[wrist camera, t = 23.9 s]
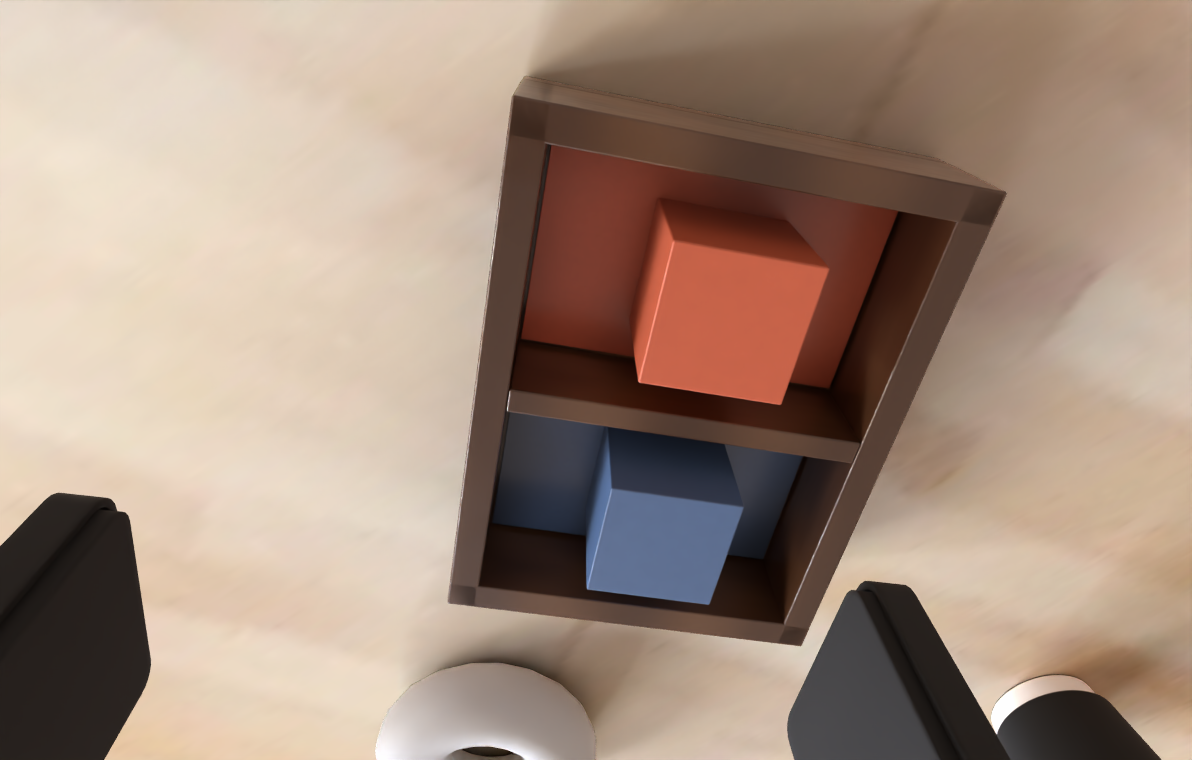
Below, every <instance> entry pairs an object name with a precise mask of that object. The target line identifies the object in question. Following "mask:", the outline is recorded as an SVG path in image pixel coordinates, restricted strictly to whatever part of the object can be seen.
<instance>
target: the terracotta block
mask: <svg viewBox="0 0 1192 760" xmlns="http://www.w3.org/2000/svg"><path fill="white" fill-rule="evenodd" d="M829 270H830V268H829V267H828V265H827V264H826V263H825V262H824V261H823V260H822V259H821V257H820V256H819V255H818V254H817V253H816V252H815V251H814V249H813V248H812V247H811V246H810V245H809V244H808V243H807V241H806V240H805V239H804V238H803V237H802V236H801V235H800V234H799V232H798V231H797V230H796V229H795V228H794V227H793V226H792V224H791V223H790V222H788V221H783V220H777V219H772V218H766V217H761V216H756V215H750V214H745V213H740V212H734V211H729V210H723V209H718V208H713V207H707V206H702V205H697V204H691V203H686V202H680V201H675V200H670V199H664V198H658V199H657V203H656V207H655V212H654V216H653V220H652V225H651V229H650V233H649V238H648V242H647V246H646V251H645V255H644V259H643V264H642V268H641V272H640V277H639V281H638V285H637V290H636V294H635V299H634V303H633V307H632V312H631V316H630V320H629V322H630V329H631V336H632V342H633V349H634V356H635V363H636V369H637V376H638V382H640V383H645V384H651V385H657V386H664V387H670V388H676V389H683V390H689V391H695V392H702V393H708V394H714V395H721V396H727V397H733V398H740V399H746V400H752V401H759V402H765V403H771V404H778V405H781V404H782V401H783V398H784V396H785V393H786V390H787V387H788V384H789V382H790V379H791V376H792V373H793V370H794V368H795V365H796V362H797V359H798V356H799V354H800V351H801V348H802V345H803V342H804V340H805V337H806V334H807V331H808V328H809V326H810V323H811V320H812V317H813V315H814V312H815V309H816V306H817V303H818V301H819V298H820V295H821V292H822V289H823V287H824V284H825V281H826V278H827V275H828V273H829Z"/></svg>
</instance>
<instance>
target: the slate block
mask: <svg viewBox="0 0 1192 760" xmlns="http://www.w3.org/2000/svg"><path fill="white" fill-rule="evenodd" d="M743 509H744V504H743V501H742V498H741V495H740V492H739V489H738V485H737V482H736V479H735V476H734V473H733V469H732V466H731V463H730V460H729V457H728V454H727V450H726V447H725V444H720V443H713V442H706V441H700V440H693V439H686V438H680V437H673V436H666V435H660V434H653V433H647V432H640V431H633V430H627V429H620V428H613V427H607V426H605V427H604V431H603V435H602V440H601V444H600V448H599V453H598V457H597V461H596V466H595V470H594V475H593V479H592V483H591V488H590V492H589V496H588V501H587V505H586V583H587V589H589V590H597V591H605V592H613V593H620V594H628V595H636V596H644V597H652V598H660V599H668V600H676V601H684V602H692V603H700V604H708V605H709V604H710V601H711V599H712V596H713V593H714V590H715V588H716V585H717V582H718V579H719V576H720V574H721V571H722V568H723V565H724V562H725V560H726V557H727V554H728V551H729V548H730V546H731V543H732V540H733V537H734V534H735V532H736V529H737V526H738V523H739V520H740V518H741V515H742V512H743Z"/></svg>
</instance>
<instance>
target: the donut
mask: <svg viewBox="0 0 1192 760" xmlns="http://www.w3.org/2000/svg"><path fill="white" fill-rule="evenodd" d="M478 746H491V747H496V748H501V749H506V750H509V751H511V752H513V753H515V754H510V755H506V756H501V757H485V756H480V755H474V754H470V753H468V752H465V751H463V750H461V749H464V748H468V747H478ZM376 758H377V760H596V736H595V731H594V728H593V726H592V724H591V722H590V720H589V718H588V716H587V714H586V712H585V709H584V708H583V706H582V705H581V703H580V702H579V701H578V700H577V699H576V698H575V697H574V696H573V695H572V694H571V693H570V692H569V691H567V690H566V689H565V688H564V687H563V686H562V685H561V684H560V683H558V682H556V681H554V680H552V679H550V678H547V677H545V676H543V675H541V674H539V673H537V672H535V671H533V670H531V669H527V668H523V667H518V666H513V665H509V664H504V663H469V664H465V665H460V666H456V667H452V668H448V669H443V670H440V671H437V672H435V673H433V674H431V675H429V676H427V677H425V678H424V679H422V680H420V681H418V682H416V683H414V684H412V685H411V686H410V687H409V688H408V689H407V690H406V691H405V692H404V693H403V694H402V695H401V696H400V697H399V699H398V700H397V701H396V702H395V703H394V704H393V705H392V706H391V707H390V708H389V709H388V711H387V713H386V715H385V717H384V719H383V722H382V726H381V729H380V732H379V735H378V739H377V742H376Z"/></svg>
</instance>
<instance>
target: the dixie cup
mask: <svg viewBox="0 0 1192 760" xmlns="http://www.w3.org/2000/svg"><path fill="white" fill-rule="evenodd" d="M992 724H993V726H994V729H995V731H996V733H997V737H998V738H999V740H1000V742H1001V744H1002V745H1003V747H1004V749H1005V751H1006V752H1007V754H1008V756H1009V758H1010V759H1011V760H1161V759H1160V758H1159V756H1158V755H1157V754H1156V753H1155V752H1154V751H1153V750H1152V749H1151V748H1150V746H1149V745H1148V744H1147V743H1146V742H1145V741H1144V740H1143V739H1142V738H1141V736H1140V735H1139V734H1138V733H1137V732H1136V731H1135V730H1134V729H1133V728H1132V727H1131V725H1130V724H1129V723H1128V722H1127V721H1126V720H1125V719H1124V718H1123V717H1122V715H1121V714H1120V713H1119V712H1118V711H1117V710H1116V709H1115V708H1114V707H1113V706H1112V704H1111V703H1110V702H1109V701H1108V700H1106V699H1105V698H1104V697H1102V696H1100V695H1098V694H1095V692H1094V691H1093V690H1092V689H1091V688H1090V687H1089V686H1088V685H1087V684H1086V683H1085V682H1083V681H1082V680H1080V679H1077V678H1075V677H1071V676H1065V675H1051V676H1043V677H1039V678H1035V679H1032V680H1029V681H1026V682H1024V683H1022V684H1020V685H1018V686H1016V687H1014V688H1013V689H1011V690H1010V691H1008V692H1007V693H1006V694H1005V695H1003V696H1002V697H1001V699H1000V700H999V701H998V702H997V704H996V705H995V707H994V709H993V712H992Z"/></svg>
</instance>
